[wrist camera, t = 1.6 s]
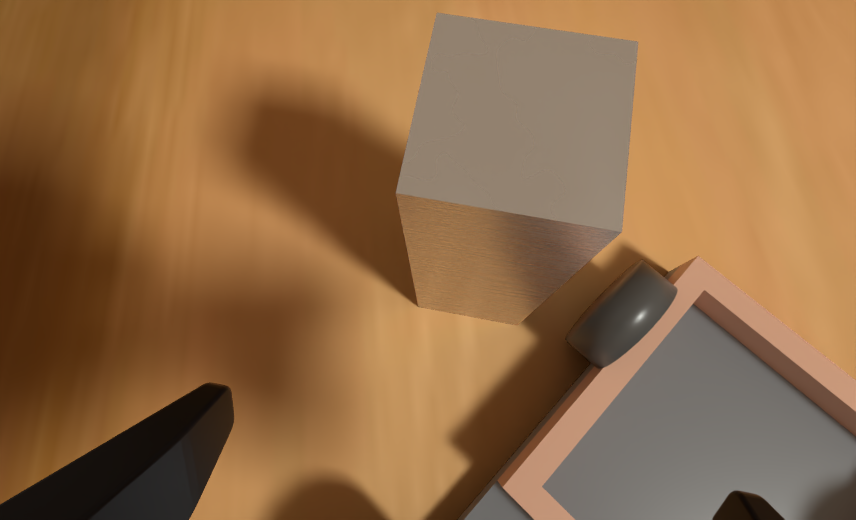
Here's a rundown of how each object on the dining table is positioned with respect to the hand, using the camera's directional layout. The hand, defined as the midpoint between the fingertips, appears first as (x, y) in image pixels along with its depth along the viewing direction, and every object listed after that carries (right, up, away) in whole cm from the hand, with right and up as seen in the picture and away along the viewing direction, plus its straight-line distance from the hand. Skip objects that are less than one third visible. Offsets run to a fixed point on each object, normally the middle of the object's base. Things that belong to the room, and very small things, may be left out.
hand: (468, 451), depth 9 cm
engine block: (+2, +3, +13) cm, 14 cm away
